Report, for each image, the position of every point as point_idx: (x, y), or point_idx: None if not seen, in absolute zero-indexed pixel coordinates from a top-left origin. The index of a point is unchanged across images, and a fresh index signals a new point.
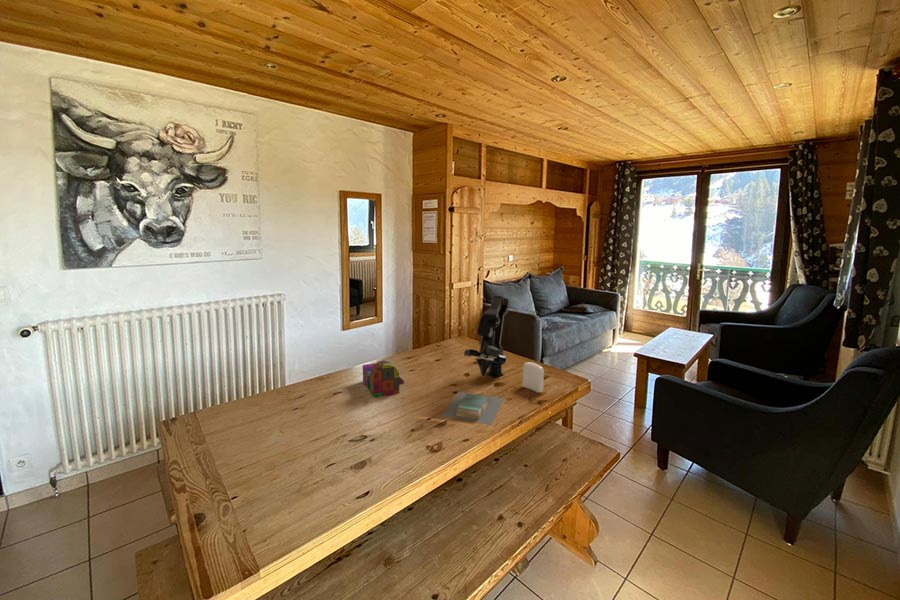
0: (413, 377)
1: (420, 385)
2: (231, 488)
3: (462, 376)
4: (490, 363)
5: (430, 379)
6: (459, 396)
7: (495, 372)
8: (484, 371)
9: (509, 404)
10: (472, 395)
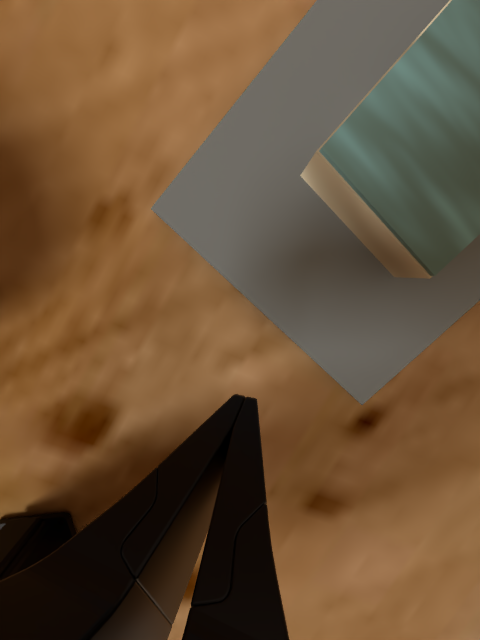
0: (454, 632)
1: (477, 550)
2: None
3: None
4: (17, 591)
5: (394, 591)
6: (395, 350)
7: (32, 545)
8: (227, 435)
9: (147, 137)
10: (414, 226)
